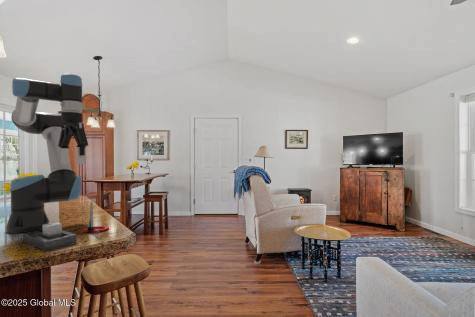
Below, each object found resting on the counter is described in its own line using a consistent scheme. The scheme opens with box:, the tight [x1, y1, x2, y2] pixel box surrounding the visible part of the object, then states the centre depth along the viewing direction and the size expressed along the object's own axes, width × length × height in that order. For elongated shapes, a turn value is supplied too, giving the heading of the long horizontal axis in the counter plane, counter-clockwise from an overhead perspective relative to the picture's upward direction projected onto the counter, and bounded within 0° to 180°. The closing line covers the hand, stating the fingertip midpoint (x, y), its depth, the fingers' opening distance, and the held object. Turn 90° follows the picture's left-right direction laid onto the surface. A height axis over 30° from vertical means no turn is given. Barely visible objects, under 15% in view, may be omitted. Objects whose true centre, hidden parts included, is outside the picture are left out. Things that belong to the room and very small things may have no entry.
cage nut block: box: [42, 221, 63, 240], centre depth 98 cm, size 4×4×7 cm
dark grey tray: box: [24, 229, 78, 252], centre depth 99 cm, size 18×10×3 cm, turn 56°
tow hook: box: [82, 201, 110, 234], centre depth 115 cm, size 8×13×9 cm
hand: (72, 163), depth 111 cm, fingers open, 13 cm apart
